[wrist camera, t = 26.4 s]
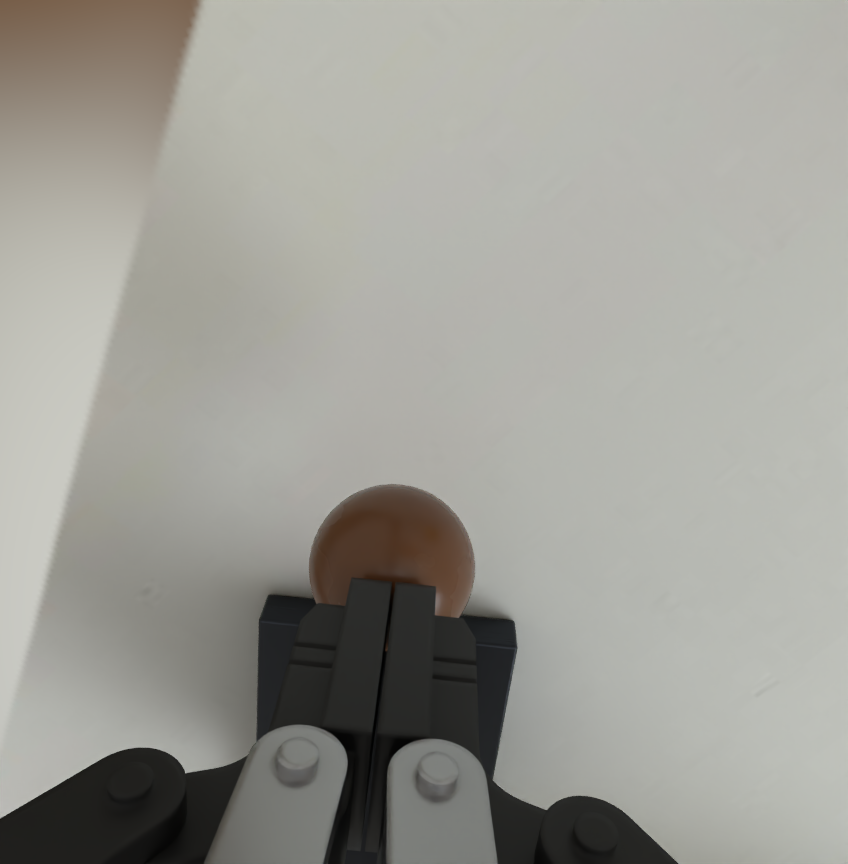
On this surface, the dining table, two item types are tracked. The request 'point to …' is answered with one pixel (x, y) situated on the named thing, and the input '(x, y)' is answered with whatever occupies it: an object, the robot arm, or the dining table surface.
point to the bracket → (491, 634)
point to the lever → (392, 562)
